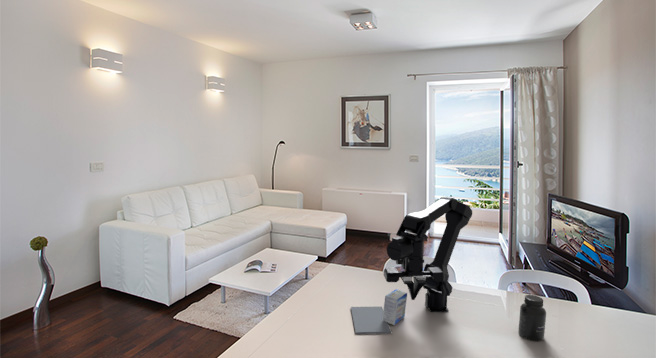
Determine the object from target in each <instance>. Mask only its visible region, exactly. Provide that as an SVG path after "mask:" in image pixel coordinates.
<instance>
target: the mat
mask: <svg viewBox="0 0 656 358" xmlns="http://www.w3.org/2000/svg"><path fill="white" fill-rule="evenodd" d="M383 311H384V307H383V306H350V312H351V316H352V317H351V318H352V322H353V325H354V326H353V327H354V332H355V333H354V334H355V335H380V334H386V335H389V334H392V330H391V326H390V325H389V324H390V323H388V322H385V321H383Z"/></svg>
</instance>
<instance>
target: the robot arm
mask: <svg viewBox="0 0 656 358" xmlns="http://www.w3.org/2000/svg"><path fill="white" fill-rule="evenodd" d="M444 215H445V221H446V226H445V228H444V231H443V234H442V236H441V240H440V243H439V244H438V247H437V250H436V253H435V255H434V258H433V261H431V263H426V264H425V265H424V263H425V258H424V253H425V252H424V251H425V249H424V248H425V240H427V239H428V238H429V237H428V235H427V234H426V233H427V232H428V231H429V230H430V229H431V226H432V223H434V222H435V221H437V220H438V219H439V218H441V217H442V216H444ZM472 216H473V209H472V208H471V206H470V205H467V204H464V203H463V202H460V201H459V200H457V199H456V198H455V197H450V196H449V197H448V196H442V197H440V199H438V200H437V201H435V202H434V203H433V204H430V206H428V207H426V208H424V209H423V210H421V211H413V212H410V213H408V214H405V216H404V218H403V220H402V221H401V224H400V226H399V228H398V230H397V232H396V237H392V238H391V241H390V242H389V243H388V244H387V247H386V253H387V257H389V259H390V260H392V261H393V262H394V261H395V264H396V265H401V266H400V267H401V268H402V270H403V271H401V270H400V271H398V269H397V267H385V268H384V270H383V277H384V279H385V281H386V282H387V283H397V282H399V281H400V279H401V281H402V282H403V284H404V285H406V286H407V290H408V293H409V295H410V300H412V301H415V300H416V298H417V295H419V293H420V291H421V290H422V288H423V289H425V290H426V293H425V302H424V305H425V306H426V307H427V309H428V310H429V312H436V313H437V312H449V308H448V306H447V305H448V297H450V295H451V294H452V292H453V286H452V284H451V283H450V282H449V278H450V276H449V271H448V265H449V262H450V260H451V257H452V255H453V253H454V252H453V251H454V249H455V246H456V244H457V241H458V238H459V235H460V231H461V230H462V229H463V228H465V227H466V226H467V225H468V224H469V222H470V221H471V220H470V219H471V218H472Z"/></svg>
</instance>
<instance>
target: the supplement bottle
mask: <svg viewBox="0 0 656 358" xmlns="http://www.w3.org/2000/svg"><path fill="white" fill-rule="evenodd" d="M523 302H524V303H522V304H521V305H520V308H519V317H518V319H519V320H518V334H519V335H520V336H521V337H523V338H524V339H526V340H529V341H534V342H540V341H543V340H544V339H545V333H546V321H547V310H546V309H545V308H544V299H543V298H542V297H540V296H538V295H533V294H526V295H525V296H524V300H523Z"/></svg>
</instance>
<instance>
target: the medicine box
mask: <svg viewBox="0 0 656 358" xmlns="http://www.w3.org/2000/svg"><path fill="white" fill-rule="evenodd" d="M407 300H408V293H407V292H406V291H403V290H401V289H397V288H396V289H394V290H392V291H391V292H390V293H388V294H386V295H385V296H384V303H383V321H385V322H388V324H390V325H393V326H396V324H398V323H399V322H400V321H401V320H402V319H403V318H404V317H406V310H407V309H406V308H407V307H406V306H407Z"/></svg>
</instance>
